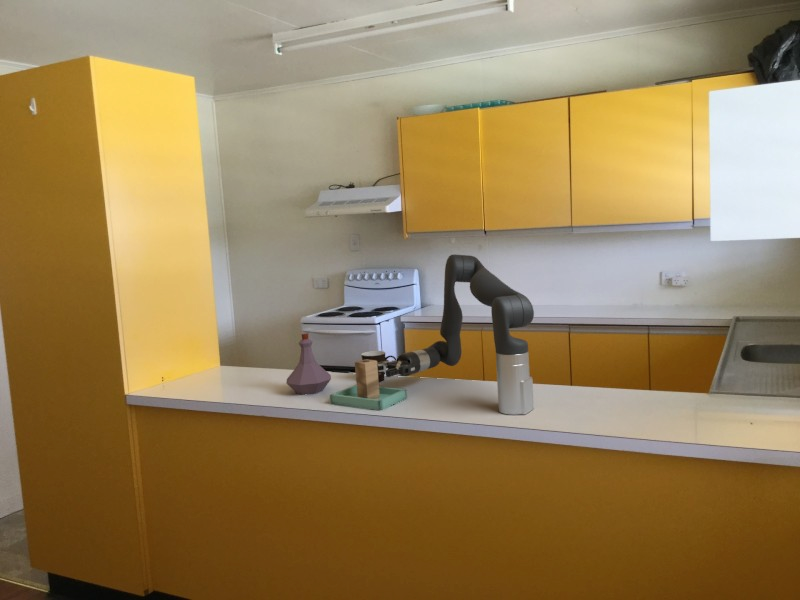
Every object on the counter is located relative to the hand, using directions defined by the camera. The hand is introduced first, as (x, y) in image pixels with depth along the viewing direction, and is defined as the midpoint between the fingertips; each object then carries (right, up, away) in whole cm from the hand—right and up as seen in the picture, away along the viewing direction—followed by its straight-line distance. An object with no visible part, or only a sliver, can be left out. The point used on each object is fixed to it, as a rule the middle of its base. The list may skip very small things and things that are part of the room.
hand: (377, 372), depth 217 cm
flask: (-24, -8, +16) cm, 30 cm away
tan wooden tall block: (-3, -8, -2) cm, 9 cm away
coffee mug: (0, -6, +24) cm, 25 cm away
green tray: (-3, -9, -2) cm, 10 cm away
